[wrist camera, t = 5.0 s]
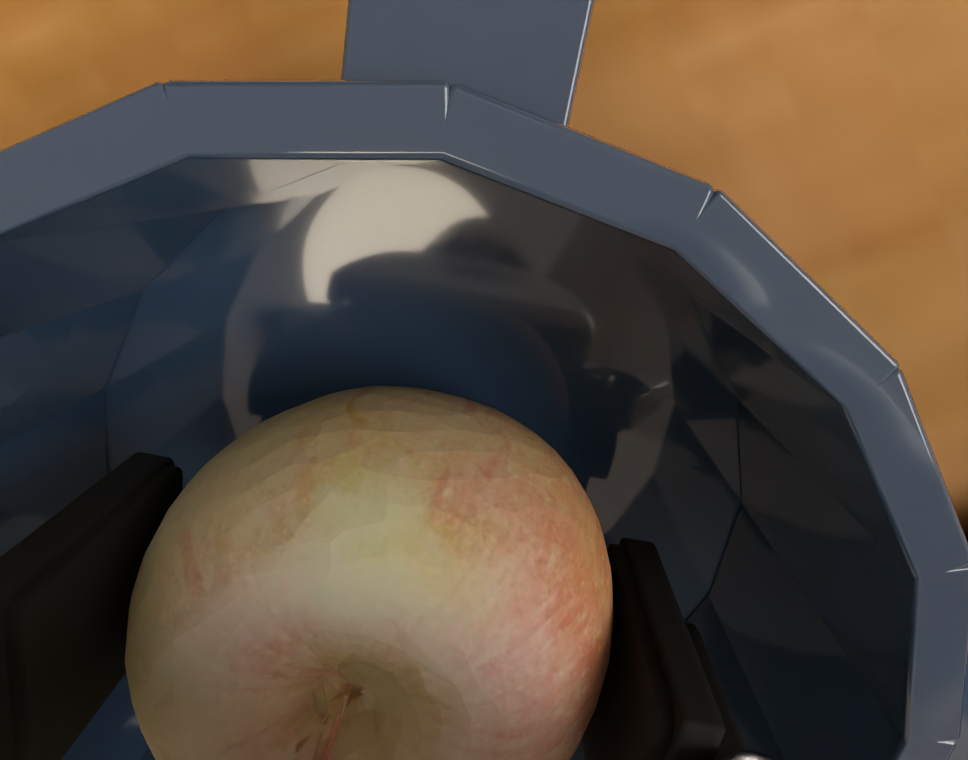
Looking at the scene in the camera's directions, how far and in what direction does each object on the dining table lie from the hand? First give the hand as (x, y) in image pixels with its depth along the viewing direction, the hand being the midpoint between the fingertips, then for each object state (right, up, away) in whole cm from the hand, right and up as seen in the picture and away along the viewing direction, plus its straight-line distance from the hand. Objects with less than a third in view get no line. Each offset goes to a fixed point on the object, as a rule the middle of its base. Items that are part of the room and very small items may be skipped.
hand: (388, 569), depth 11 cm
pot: (0, +1, +3) cm, 3 cm away
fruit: (0, +1, +3) cm, 3 cm away
